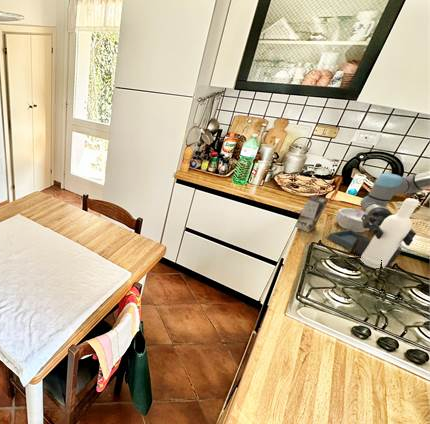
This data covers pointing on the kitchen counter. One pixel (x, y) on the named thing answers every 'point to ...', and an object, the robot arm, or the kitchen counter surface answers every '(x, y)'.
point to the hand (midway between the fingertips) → (394, 239)
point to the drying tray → (345, 238)
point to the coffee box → (311, 213)
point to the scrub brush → (362, 244)
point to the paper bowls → (351, 219)
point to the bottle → (390, 236)
